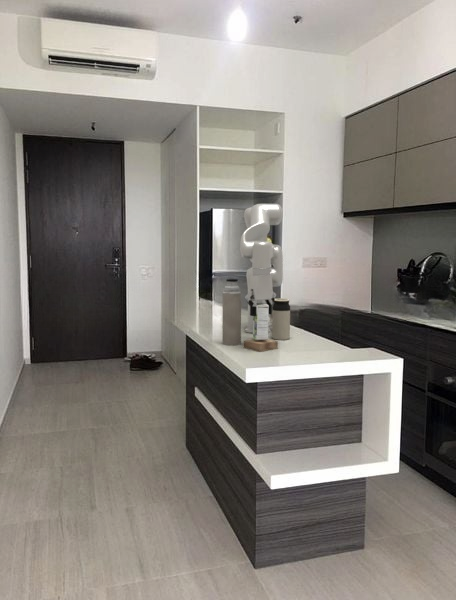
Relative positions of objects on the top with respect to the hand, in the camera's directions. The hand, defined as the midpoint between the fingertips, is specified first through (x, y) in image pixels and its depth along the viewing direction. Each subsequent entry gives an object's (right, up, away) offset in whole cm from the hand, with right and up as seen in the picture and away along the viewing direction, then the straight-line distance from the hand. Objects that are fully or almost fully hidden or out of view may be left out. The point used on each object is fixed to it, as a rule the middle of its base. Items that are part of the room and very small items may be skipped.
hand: (260, 314), depth 220 cm
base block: (0, -14, +2) cm, 14 cm away
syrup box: (0, -10, +1) cm, 10 cm away
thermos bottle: (-12, -13, +11) cm, 21 cm away
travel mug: (+11, -12, +23) cm, 28 cm away
